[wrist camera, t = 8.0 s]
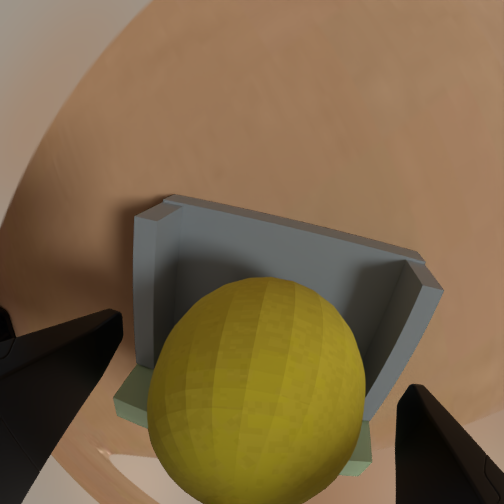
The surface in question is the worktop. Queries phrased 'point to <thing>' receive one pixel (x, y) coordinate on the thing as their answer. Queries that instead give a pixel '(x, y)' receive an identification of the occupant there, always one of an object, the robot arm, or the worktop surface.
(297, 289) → the lemon
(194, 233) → the miniature couch
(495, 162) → the worktop surface
